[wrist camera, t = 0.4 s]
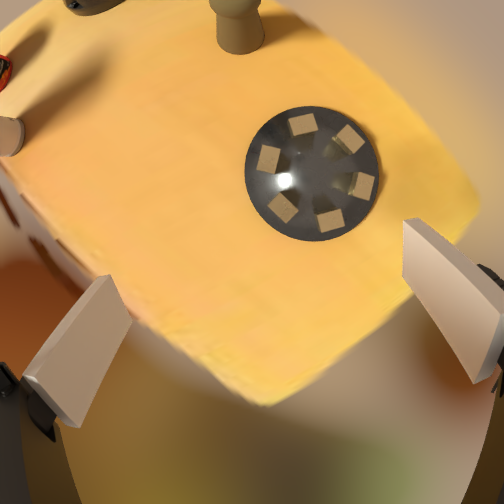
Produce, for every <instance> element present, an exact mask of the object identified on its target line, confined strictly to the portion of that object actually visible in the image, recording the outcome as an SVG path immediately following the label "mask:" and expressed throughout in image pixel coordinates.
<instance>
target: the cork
mask: <svg viewBox="0 0 504 504" xmlns="http://www.w3.org/2000/svg"><path fill="white" fill-rule="evenodd" d="M209 3H210V6H211V8H212V9H213V10H214V11H215V13H217V42H218V44H219V46H220V47H221V48H222V49H223V50H225V51H226V52H228V53H231V54H237V55H243V54H249V53H251V52H253V51H255V50H257V49H258V48H259V47H260V46H261V45H262V43H263V41H264V36H265V35H264V31H263V27H262V24H261V20H260V16H259V13H258V10H257V8H258V7H259V5H260V3H261V0H209Z"/></svg>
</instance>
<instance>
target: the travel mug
mask: <svg viewBox="0 0 504 504" xmlns="http://www.w3.org/2000/svg"><path fill="white" fill-rule="evenodd" d="M24 136H25V128H24V124H23V122H22V121H21V120H20V119H15V118H9V117H3V116H0V156H14V155H15V154H16V153H17V152H18V151H19V150H20V148H21V146H22V144H23V141H24Z"/></svg>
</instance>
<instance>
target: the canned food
mask: <svg viewBox="0 0 504 504" xmlns="http://www.w3.org/2000/svg"><path fill="white" fill-rule="evenodd" d="M11 70H12V62H11V60H10V59H9V58H8V57H6V56H3V55H0V91H1V90H2V89H3V88H4V87H5V85H6V84H7V82H8V80H9V77H10V74H11Z"/></svg>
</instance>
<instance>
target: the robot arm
mask: <svg viewBox="0 0 504 504" xmlns="http://www.w3.org/2000/svg"><path fill="white" fill-rule="evenodd" d="M122 1H123V0H63V2H64V4H65V6H66V7H67V8H68V9H69V10H70V11H72V12H73V13H74V14H76V15H79V16H90V15H94V14H98V13H101V12H103V11H106V10H108V9H110V8H112V7H114V6H115V5H117V4H119V3H120V2H122ZM402 277H403V279H404V280H405V281H406V282H407V284H408V285H409V287H410V288H411V289H412V291H413V292H414V293H415V295H416V296H417V297H418V299H419V300H420V302H421V303H422V304H423V306H424V307H425V309H426V310H427V312H428V313H429V314H430V316H431V317H432V319H433V320H434V322H435V323H436V325H437V326H438V328H439V329H440V331H441V332H442V334H443V335H444V337H445V338H446V340H447V341H448V343H449V344H450V346H451V347H452V349H453V351H454V352H455V354H456V356H457V357H458V359H459V361H460V362H461V364H462V365H463V367H464V368H465V370H466V372H467V374H468V376H469V377H470V379H471V381H472V383H473V384H475V383H477V382H479V381H481V380H483V379H486V378H487V377H490V376H491V375H492V373H493V371H494V369H495V366H496V364H497V363H498V364H499V366H500V367H501V369H502V371H501V373H500V375H499V377H498V379H497V381H496V383H495V385H494V386H493V388H492V391H491V392H492V393H494V391H495V389H496V388H497V391H496V396H495V401H494V406H493V410H492V415H491V419H490V423H489V427H488V430H487V434H486V438H485V441H484V445H483V448H482V451H481V454H480V457H479V460H478V463H477V466H476V468H475V471H474V474H473V476H472V479H471V481H470V484H469V486H468V489H467V491H466V493H465V496H464V498H463V500H462V502H461V504H504V281H503V280H502V279H500V277H499V276H498V275H497V274H496V273H494V272H493V271H492V270H491V269H489V268H487V267H485V266H483V265H481V264H477V265H476V264H474V263H473V262H472V261H471V260H470V259H469V258H468V257H467V256H465V255H464V254H463V253H462V252H461V251H460V250H458V249H457V248H456V247H455V246H454V245H452V244H451V243H450V242H449V241H448V240H446V239H445V238H444V237H443V236H441V235H440V234H439V233H438V232H436V231H435V230H434V229H433V228H431V227H430V226H429V225H427V224H426V223H425V222H423V221H422V220H421V219H419V218H413V219H407V220H403V270H402ZM132 322H133V321H132V319H131V317H130V315H129V313H128V311H127V309H126V307H125V305H124V303H123V301H122V299H121V297H120V294H119V292H118V290H117V288H116V286H115V284H114V281H113V279H112V277H111V275H104V276H99V277H97V279H96V280H95V281H94V282H93V283H92V284H91V286H90V287H89V288H88V289H87V290H86V291H85V293H84V294H83V295H82V296H81V297H80V299H79V300H78V301H77V302H76V304H75V305H74V306H73V307H72V308H71V310H70V311H69V312H68V313H67V315H66V316H65V317H64V318H63V320H62V321H61V322H60V323H59V325H58V326H57V327H56V329H55V330H54V331H53V333H52V334H51V335H50V337H49V338H48V339H47V341H46V342H45V343H44V345H43V346H42V348H41V349H40V350H39V352H38V353H37V354H36V356H35V357H34V358H33V360H32V361H31V363H30V364H29V366H28V367H27V369H26V370H25V371H24V373H23V374H22V378H21V380H20V381H19V380H18V379H17V378H16V377H15V375H14V374H13V373H12V371H11V370H10V369H9V367H8V366H7V365H6V363H4V362H0V504H82V503H81V500H80V498H79V495H78V492H77V489H76V487H75V483H74V480H73V477H72V474H71V471H70V468H69V464H68V461H67V457H66V453H65V449H64V445H63V441H62V437H61V432H60V428H59V426H58V424H57V423H56V422H55V421H54V420H55V418H56V416H58V417H59V418H60V419H61V420H62V421H63V422H64V424H66V425H68V426H72V427H77V428H80V427H81V424H82V422H83V420H84V417H85V415H86V413H87V411H88V409H89V407H90V405H91V402H92V400H93V398H94V396H95V394H96V392H97V390H98V388H99V386H100V384H101V381H102V379H103V377H104V375H105V373H106V371H107V369H108V367H109V365H110V364H111V362H112V360H113V357H114V356H115V354H116V351H117V350H118V348H119V346H120V344H121V342H122V340H123V338H124V337H125V334H126V333H127V331H128V329H129V327H130V325H131V324H132Z"/></svg>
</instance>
